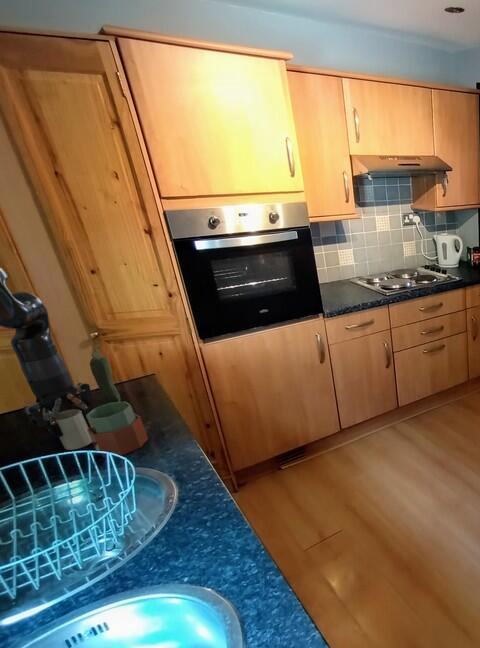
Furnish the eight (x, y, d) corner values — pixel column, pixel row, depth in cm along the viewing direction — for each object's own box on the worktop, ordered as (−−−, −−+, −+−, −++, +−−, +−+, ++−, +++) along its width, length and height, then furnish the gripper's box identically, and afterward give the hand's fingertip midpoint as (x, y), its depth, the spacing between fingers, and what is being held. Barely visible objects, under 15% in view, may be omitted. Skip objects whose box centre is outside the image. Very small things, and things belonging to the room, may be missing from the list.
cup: (69, 452, 117) (55, 423, 114) (61, 445, 120) (47, 416, 117) (96, 441, 122) (84, 413, 118) (88, 435, 125) (75, 407, 121)
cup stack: (108, 461, 114) (92, 424, 110) (92, 448, 119) (76, 413, 115) (153, 441, 122) (140, 406, 118) (137, 430, 127) (123, 396, 122)
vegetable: (104, 408, 138) (79, 348, 129) (108, 402, 141) (84, 343, 133) (122, 405, 139) (98, 346, 131) (126, 399, 143) (103, 341, 135)
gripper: (65, 359, 120) (89, 413, 126) (-1, 384, 107) (30, 442, 114) (88, 361, 118) (111, 416, 125) (24, 387, 105) (53, 446, 112)
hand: (72, 428), depth 119 cm, fingers open, 6 cm apart
